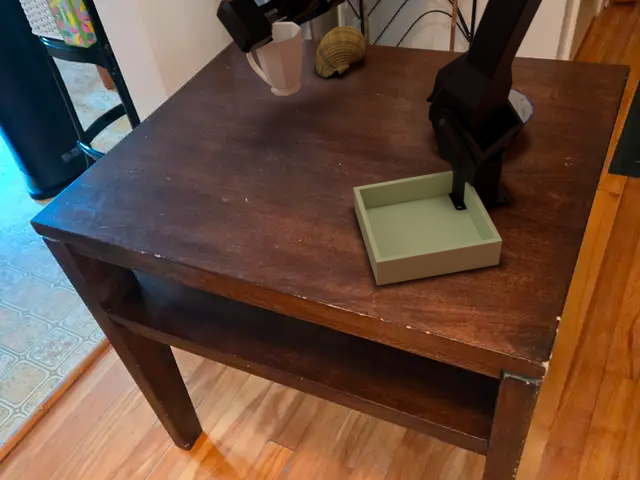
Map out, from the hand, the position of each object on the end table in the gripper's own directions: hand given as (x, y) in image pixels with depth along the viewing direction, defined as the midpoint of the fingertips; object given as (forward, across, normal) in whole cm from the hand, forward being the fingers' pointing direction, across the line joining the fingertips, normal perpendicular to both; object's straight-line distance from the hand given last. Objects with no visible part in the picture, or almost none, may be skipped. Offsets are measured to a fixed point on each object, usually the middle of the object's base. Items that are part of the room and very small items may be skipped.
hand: (264, 37), depth 83 cm
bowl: (-13, -10, +28) cm, 33 cm away
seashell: (+8, -15, +7) cm, 19 cm away
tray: (-17, +10, +33) cm, 38 cm away
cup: (+4, 0, +6) cm, 7 cm away
